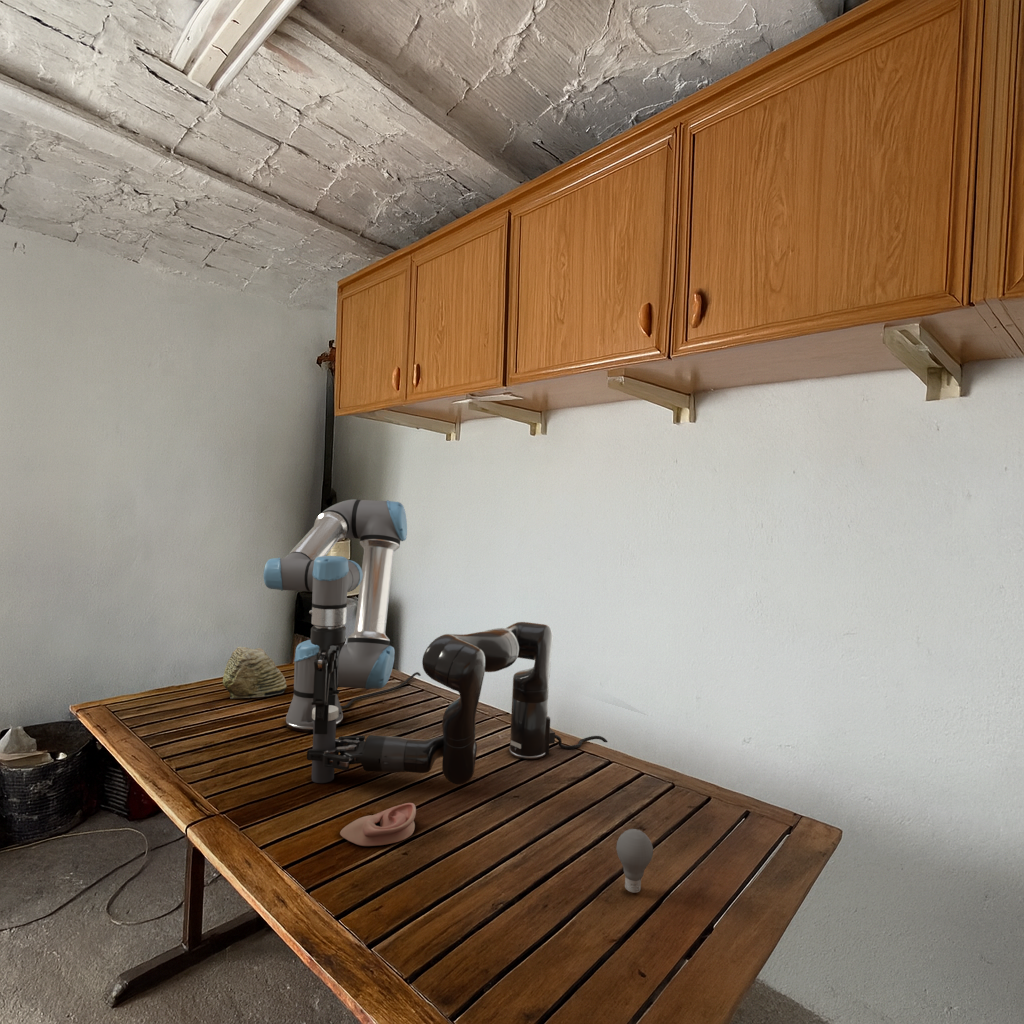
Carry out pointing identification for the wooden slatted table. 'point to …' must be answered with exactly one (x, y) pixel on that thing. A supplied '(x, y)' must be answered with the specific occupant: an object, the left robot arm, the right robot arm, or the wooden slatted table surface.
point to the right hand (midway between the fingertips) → (312, 749)
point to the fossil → (252, 674)
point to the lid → (332, 713)
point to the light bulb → (634, 857)
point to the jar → (323, 743)
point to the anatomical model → (382, 826)
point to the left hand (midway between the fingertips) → (324, 728)
